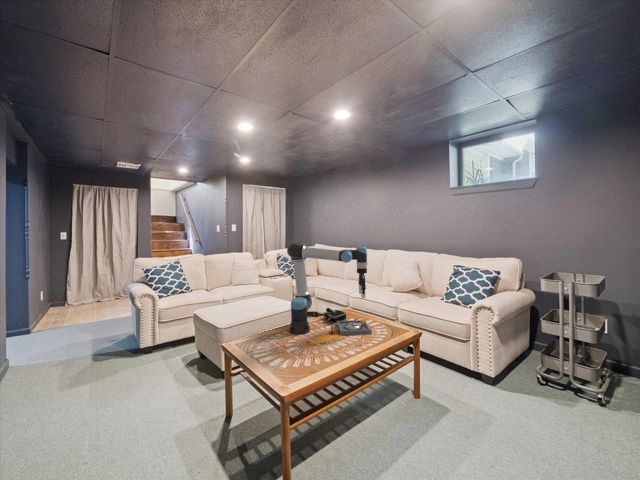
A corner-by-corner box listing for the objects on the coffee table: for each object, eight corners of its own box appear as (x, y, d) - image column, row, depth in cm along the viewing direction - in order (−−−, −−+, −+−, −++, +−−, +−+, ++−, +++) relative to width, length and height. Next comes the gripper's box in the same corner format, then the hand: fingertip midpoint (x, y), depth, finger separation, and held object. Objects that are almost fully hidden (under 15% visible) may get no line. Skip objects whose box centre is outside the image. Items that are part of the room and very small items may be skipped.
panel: (340, 334, 205) (340, 331, 205) (336, 324, 227) (336, 320, 227) (371, 333, 207) (371, 330, 206) (364, 323, 228) (364, 320, 228)
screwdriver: (332, 334, 206) (332, 330, 206) (330, 326, 222) (330, 323, 222) (336, 334, 207) (336, 330, 206) (334, 326, 223) (334, 323, 222)
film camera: (319, 319, 240) (333, 315, 250) (333, 326, 228) (346, 321, 237) (319, 310, 239) (333, 305, 249) (333, 316, 227) (347, 311, 236)
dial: (345, 330, 210) (345, 321, 210) (343, 324, 223) (343, 316, 223) (364, 329, 211) (364, 321, 210) (361, 323, 224) (361, 315, 223)
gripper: (369, 270, 205) (369, 300, 206) (364, 265, 230) (364, 291, 231) (359, 270, 205) (359, 300, 206) (354, 265, 230) (354, 292, 231)
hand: (362, 295), depth 218 cm, fingers open, 13 cm apart
